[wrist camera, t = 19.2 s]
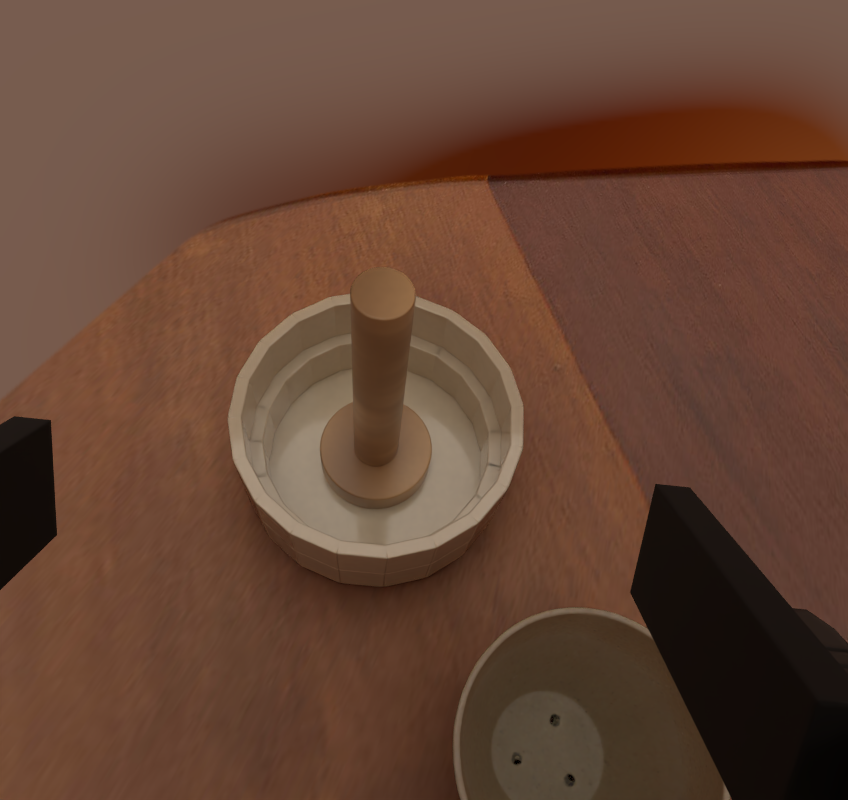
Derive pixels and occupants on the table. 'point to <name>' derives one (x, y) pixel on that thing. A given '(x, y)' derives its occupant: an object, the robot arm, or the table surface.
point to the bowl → (332, 389)
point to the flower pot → (578, 717)
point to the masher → (378, 401)
